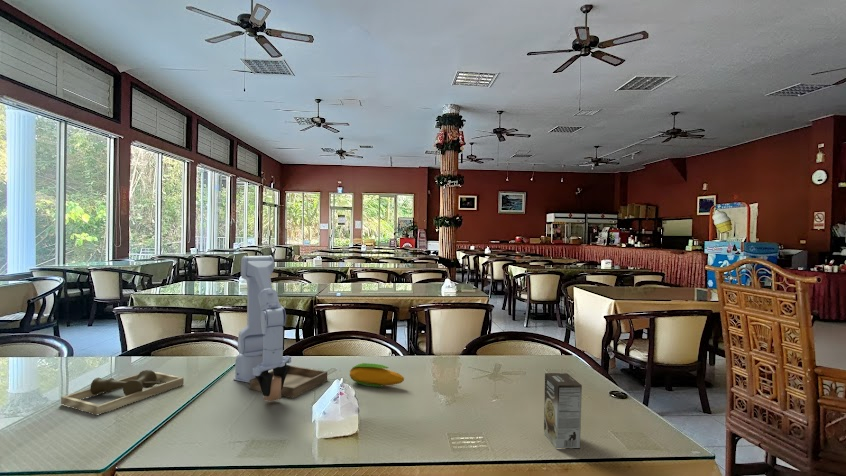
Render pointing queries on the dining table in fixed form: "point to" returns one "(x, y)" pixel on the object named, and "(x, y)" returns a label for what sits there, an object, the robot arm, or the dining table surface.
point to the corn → (374, 375)
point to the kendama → (125, 383)
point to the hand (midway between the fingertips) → (272, 392)
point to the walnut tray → (296, 381)
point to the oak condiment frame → (75, 401)
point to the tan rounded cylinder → (274, 389)
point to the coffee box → (562, 410)
